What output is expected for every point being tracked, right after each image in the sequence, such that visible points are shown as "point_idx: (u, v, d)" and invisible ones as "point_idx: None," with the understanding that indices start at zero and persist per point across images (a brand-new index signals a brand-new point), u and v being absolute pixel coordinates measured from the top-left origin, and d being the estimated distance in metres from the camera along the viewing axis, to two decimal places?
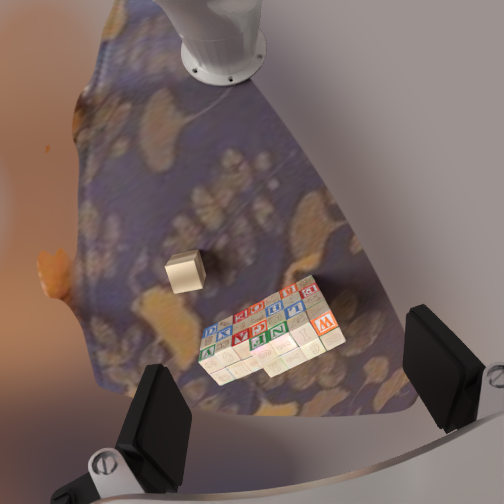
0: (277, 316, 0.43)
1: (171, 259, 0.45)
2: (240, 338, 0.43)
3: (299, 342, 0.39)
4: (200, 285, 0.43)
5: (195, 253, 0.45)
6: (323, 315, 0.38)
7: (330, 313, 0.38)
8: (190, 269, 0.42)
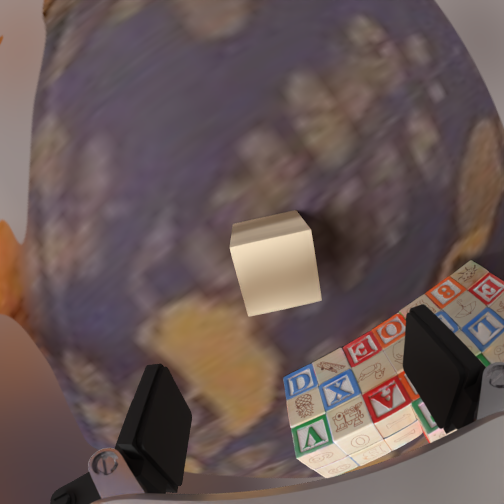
0: None
1: (237, 231, 0.19)
2: (387, 402, 0.17)
3: None
4: (318, 294, 0.17)
5: (297, 217, 0.19)
6: None
7: None
8: (299, 254, 0.16)
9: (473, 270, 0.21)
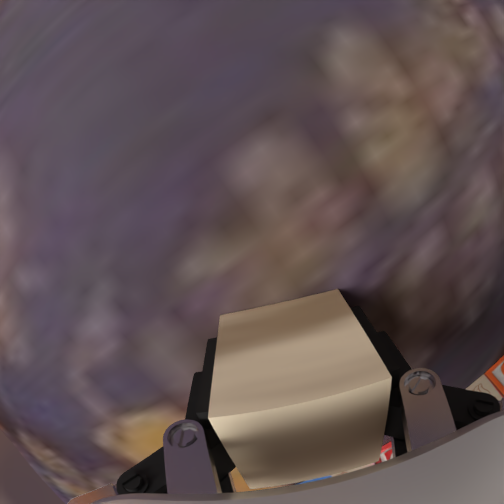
0: None
1: (227, 349, 0.09)
2: None
3: None
4: (375, 456, 0.07)
5: (347, 316, 0.09)
6: None
7: None
8: (357, 418, 0.06)
9: None
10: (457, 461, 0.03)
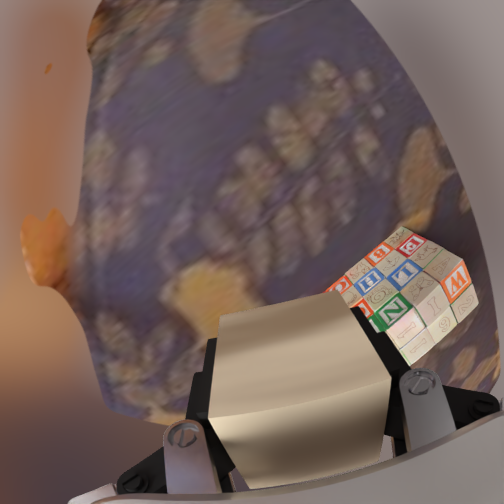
0: (380, 290, 0.26)
1: (227, 349, 0.09)
2: None
3: (428, 320, 0.22)
4: (375, 456, 0.07)
5: (346, 316, 0.09)
6: (455, 270, 0.21)
7: (463, 264, 0.21)
8: (357, 418, 0.06)
9: (401, 233, 0.31)
10: (457, 461, 0.03)
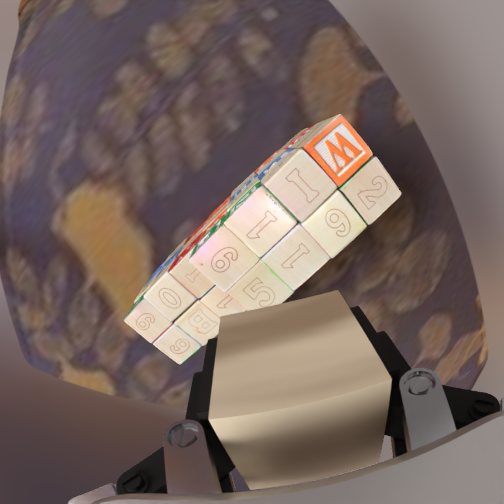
0: (245, 188, 0.21)
1: (227, 350, 0.09)
2: (184, 253, 0.21)
3: (297, 209, 0.16)
4: (375, 457, 0.07)
5: (347, 317, 0.09)
6: (330, 130, 0.15)
7: (344, 122, 0.15)
8: (357, 419, 0.06)
9: (296, 135, 0.25)
10: (457, 461, 0.03)
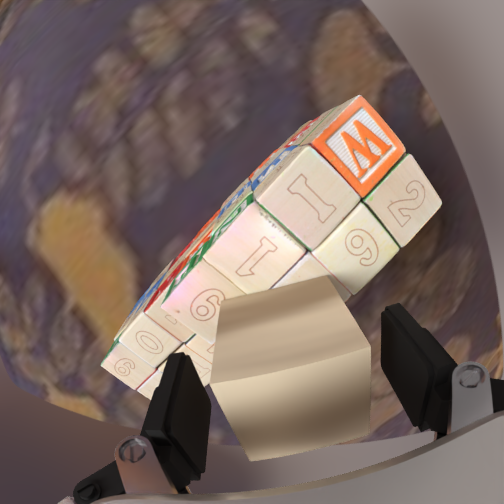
0: (235, 201, 0.16)
1: (227, 328, 0.10)
2: (162, 288, 0.17)
3: (306, 233, 0.11)
4: (365, 428, 0.09)
5: (333, 297, 0.10)
6: (348, 117, 0.10)
7: (366, 106, 0.10)
8: (343, 385, 0.08)
9: (298, 129, 0.20)
10: (457, 461, 0.03)
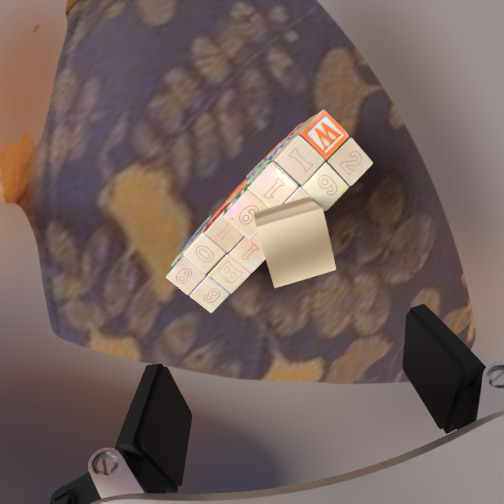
0: (259, 168, 0.28)
1: (259, 216, 0.22)
2: (214, 219, 0.28)
3: (298, 176, 0.23)
4: (332, 263, 0.20)
5: (309, 201, 0.22)
6: (317, 121, 0.22)
7: (327, 115, 0.22)
8: (314, 229, 0.19)
9: (295, 128, 0.32)
10: (457, 461, 0.03)
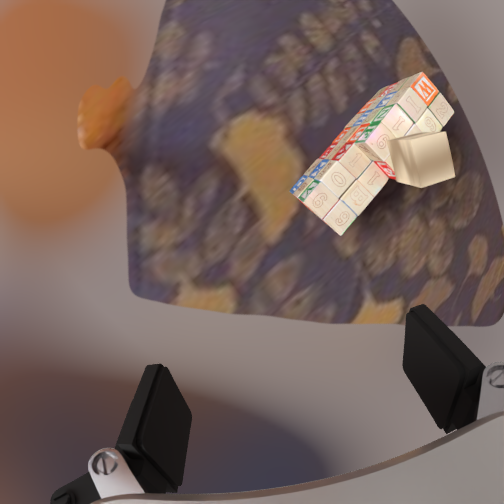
0: (371, 114, 0.30)
1: (399, 139, 0.25)
2: (343, 151, 0.31)
3: (413, 116, 0.26)
4: (453, 172, 0.23)
5: (426, 132, 0.25)
6: (419, 79, 0.25)
7: (424, 75, 0.24)
8: (442, 145, 0.22)
9: (380, 90, 0.34)
10: (457, 461, 0.03)
